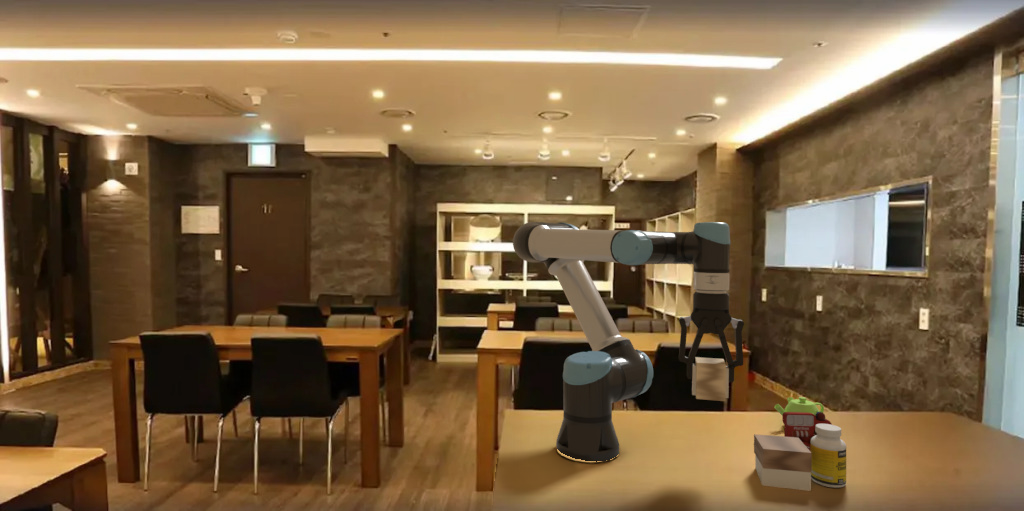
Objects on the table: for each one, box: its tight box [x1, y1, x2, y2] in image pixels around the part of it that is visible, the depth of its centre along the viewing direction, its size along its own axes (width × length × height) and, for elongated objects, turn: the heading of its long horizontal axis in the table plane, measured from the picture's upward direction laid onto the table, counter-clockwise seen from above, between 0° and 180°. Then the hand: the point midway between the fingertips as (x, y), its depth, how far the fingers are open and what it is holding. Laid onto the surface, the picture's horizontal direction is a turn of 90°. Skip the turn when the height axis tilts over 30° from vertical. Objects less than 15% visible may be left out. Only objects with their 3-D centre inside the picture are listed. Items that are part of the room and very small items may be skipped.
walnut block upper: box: [753, 433, 812, 473], centre depth 111 cm, size 9×9×4 cm
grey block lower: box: [754, 455, 812, 492], centre depth 112 cm, size 9×9×4 cm
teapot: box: [774, 396, 827, 419], centre depth 143 cm, size 11×12×8 cm
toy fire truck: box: [781, 412, 833, 452], centre depth 124 cm, size 7×12×10 cm, turn 87°
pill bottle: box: [811, 423, 847, 489], centre depth 110 cm, size 6×6×12 cm
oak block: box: [694, 356, 727, 402], centre depth 117 cm, size 6×6×8 cm
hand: (709, 394), depth 117 cm, fingers closed on oak block, 6 cm apart
